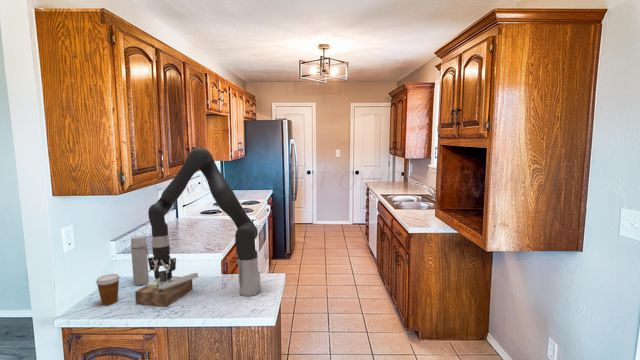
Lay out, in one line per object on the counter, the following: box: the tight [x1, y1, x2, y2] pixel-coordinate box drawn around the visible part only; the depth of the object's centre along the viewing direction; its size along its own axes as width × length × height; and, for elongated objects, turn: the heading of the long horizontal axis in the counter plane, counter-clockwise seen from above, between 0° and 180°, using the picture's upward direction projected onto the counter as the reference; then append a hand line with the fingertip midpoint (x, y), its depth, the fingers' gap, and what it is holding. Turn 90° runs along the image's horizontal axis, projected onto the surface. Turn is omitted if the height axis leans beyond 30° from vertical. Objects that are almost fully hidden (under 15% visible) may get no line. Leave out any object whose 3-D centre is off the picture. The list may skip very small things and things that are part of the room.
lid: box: [146, 269, 178, 289], centre depth 172 cm, size 10×10×6 cm
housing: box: [134, 276, 194, 308], centre depth 172 cm, size 16×20×8 cm
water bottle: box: [130, 234, 152, 286], centre depth 190 cm, size 9×8×25 cm
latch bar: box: [157, 272, 199, 289], centre depth 168 cm, size 2×19×2 cm, turn 138°
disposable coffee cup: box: [95, 273, 120, 306], centre depth 167 cm, size 10×10×12 cm
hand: (163, 278), depth 172 cm, fingers open, 6 cm apart
